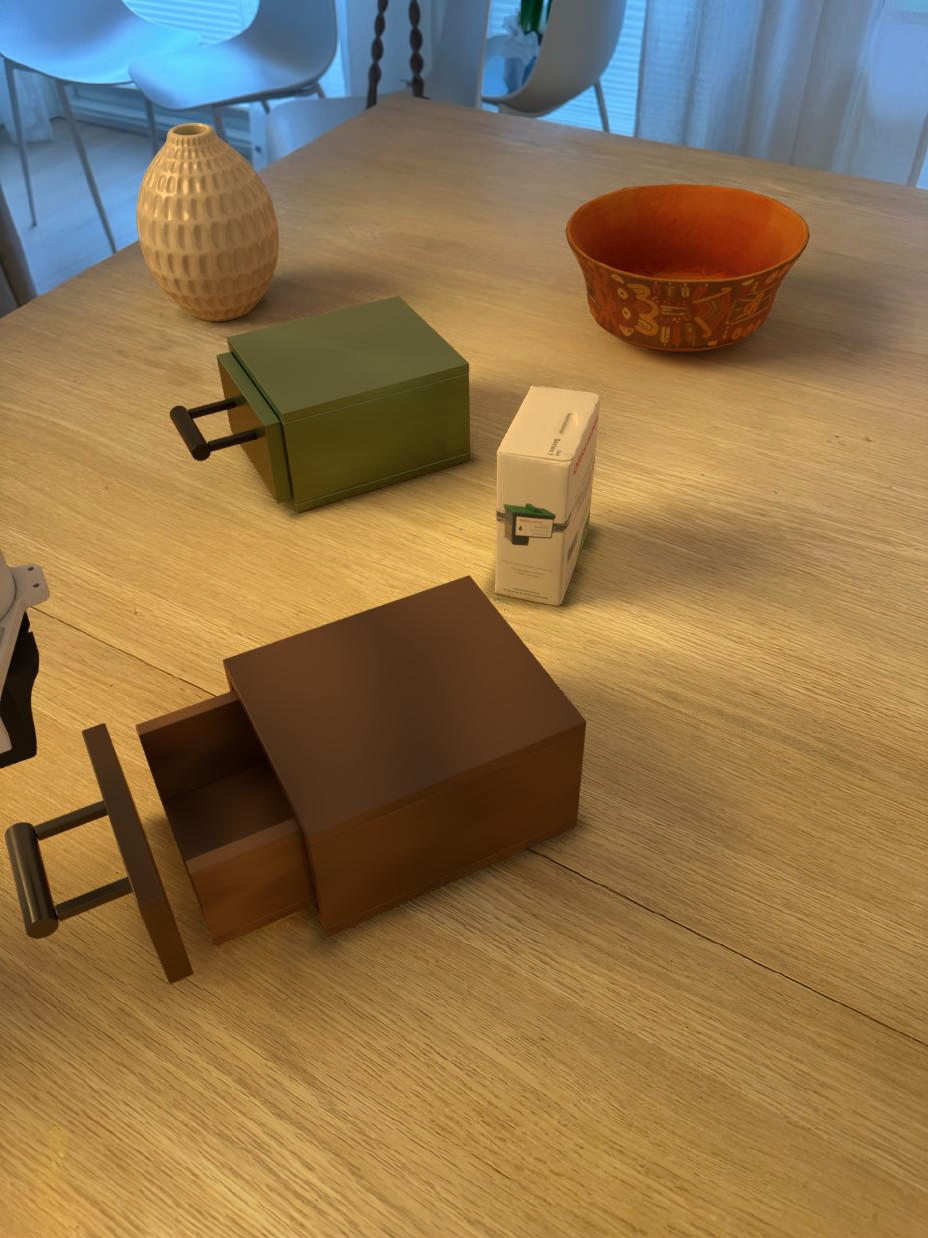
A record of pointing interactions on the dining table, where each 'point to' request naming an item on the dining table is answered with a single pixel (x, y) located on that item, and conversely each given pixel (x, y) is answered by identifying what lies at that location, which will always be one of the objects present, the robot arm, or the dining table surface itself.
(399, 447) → the green drawer cabinet
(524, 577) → the ink box
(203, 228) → the vase
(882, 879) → the dining table surface
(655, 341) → the bowl
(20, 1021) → the dining table surface
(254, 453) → the drawer
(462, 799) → the brown drawer cabinet
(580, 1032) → the dining table surface
